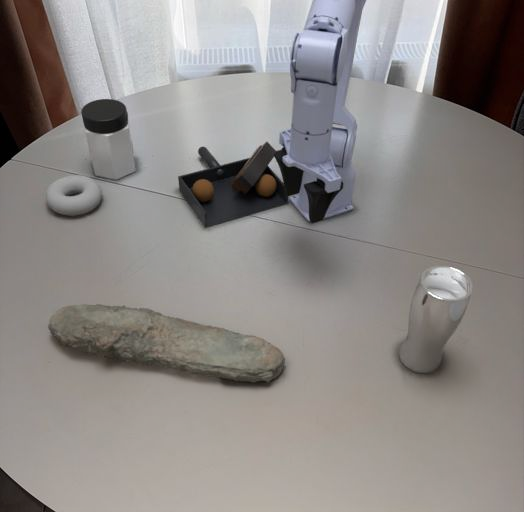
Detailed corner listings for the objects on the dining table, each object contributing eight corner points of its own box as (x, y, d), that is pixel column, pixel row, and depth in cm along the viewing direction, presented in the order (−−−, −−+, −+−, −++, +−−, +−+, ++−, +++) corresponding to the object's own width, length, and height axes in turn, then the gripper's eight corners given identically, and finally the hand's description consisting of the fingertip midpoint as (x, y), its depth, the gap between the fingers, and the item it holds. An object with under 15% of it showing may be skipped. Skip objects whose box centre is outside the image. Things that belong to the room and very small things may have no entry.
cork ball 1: (214, 202, 106) (212, 180, 104) (192, 204, 106) (190, 181, 104) (215, 199, 109) (213, 177, 108) (194, 200, 109) (192, 178, 108)
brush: (278, 152, 109) (260, 167, 114) (266, 140, 108) (249, 155, 113) (253, 187, 104) (236, 200, 109) (240, 174, 103) (224, 188, 108)
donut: (39, 215, 105) (91, 222, 103) (33, 199, 102) (86, 206, 101) (62, 184, 111) (111, 190, 110) (57, 168, 108) (108, 174, 107)
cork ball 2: (280, 179, 110) (279, 179, 106) (271, 199, 111) (271, 200, 107) (260, 170, 109) (259, 170, 106) (252, 190, 111) (251, 191, 107)
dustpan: (288, 203, 108) (289, 189, 106) (205, 227, 103) (204, 213, 101) (238, 147, 120) (238, 133, 118) (162, 166, 115) (160, 152, 113)
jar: (137, 178, 112) (128, 119, 103) (95, 182, 111) (81, 123, 102) (134, 153, 118) (124, 95, 109) (93, 157, 117) (80, 99, 108)
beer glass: (446, 346, 86) (477, 271, 75) (440, 381, 82) (471, 307, 71) (400, 334, 88) (423, 258, 76) (391, 368, 84) (414, 293, 72)
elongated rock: (274, 405, 80) (287, 354, 87) (279, 382, 77) (292, 330, 83) (37, 352, 83) (67, 306, 90) (29, 326, 79) (61, 280, 86)
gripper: (262, 107, 83) (260, 188, 93) (313, 157, 75) (304, 240, 85) (305, 97, 85) (298, 178, 96) (359, 145, 77) (345, 227, 87)
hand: (304, 207), depth 91 cm, fingers open, 7 cm apart
